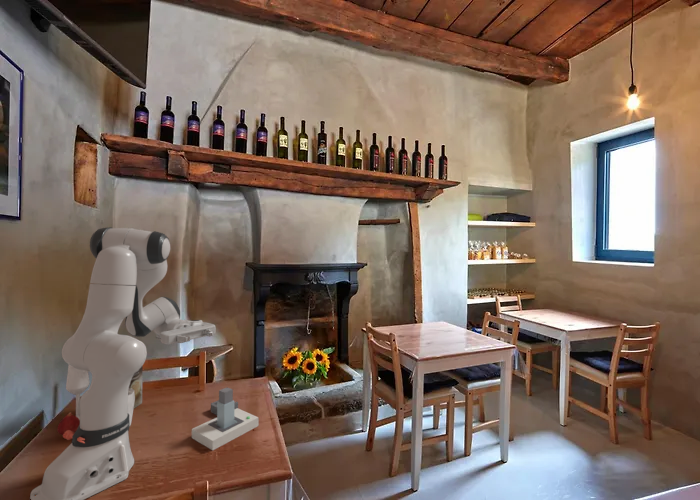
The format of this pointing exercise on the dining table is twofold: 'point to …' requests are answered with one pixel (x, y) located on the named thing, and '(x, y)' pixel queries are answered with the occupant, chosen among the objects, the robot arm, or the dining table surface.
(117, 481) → the robot arm
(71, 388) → the champagne flute
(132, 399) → the cup
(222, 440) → the block
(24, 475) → the dining table surface
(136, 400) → the coffee box
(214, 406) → the holster
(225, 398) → the plug
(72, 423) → the onion
